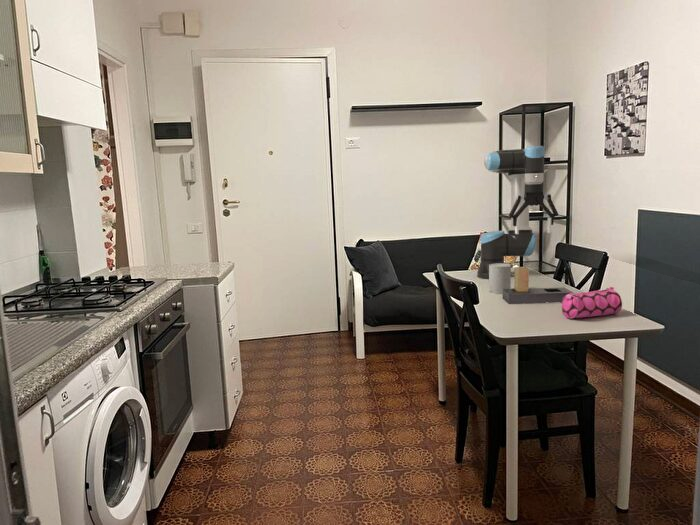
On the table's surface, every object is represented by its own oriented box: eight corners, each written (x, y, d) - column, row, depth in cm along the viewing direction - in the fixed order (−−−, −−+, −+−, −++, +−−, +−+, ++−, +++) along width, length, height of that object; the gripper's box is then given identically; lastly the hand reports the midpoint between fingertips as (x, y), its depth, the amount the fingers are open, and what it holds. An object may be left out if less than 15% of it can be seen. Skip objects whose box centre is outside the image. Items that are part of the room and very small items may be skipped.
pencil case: (602, 309, 206) (603, 284, 204) (623, 315, 197) (624, 288, 195) (557, 316, 199) (558, 290, 197) (577, 322, 190) (578, 295, 188)
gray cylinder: (488, 294, 238) (489, 266, 236) (488, 289, 247) (488, 263, 245) (511, 294, 236) (511, 266, 234) (510, 289, 245) (510, 263, 243)
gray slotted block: (502, 298, 229) (502, 289, 228) (563, 296, 228) (564, 287, 227) (508, 304, 219) (508, 294, 218) (572, 302, 218) (573, 292, 218)
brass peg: (514, 299, 226) (514, 267, 224) (525, 299, 226) (525, 266, 224) (517, 302, 222) (517, 268, 219) (528, 301, 221) (528, 268, 219)
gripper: (506, 185, 222) (505, 235, 226) (567, 182, 221) (565, 233, 225) (502, 184, 230) (501, 233, 234) (561, 181, 228) (559, 231, 232)
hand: (532, 233), depth 229 cm, fingers open, 13 cm apart
